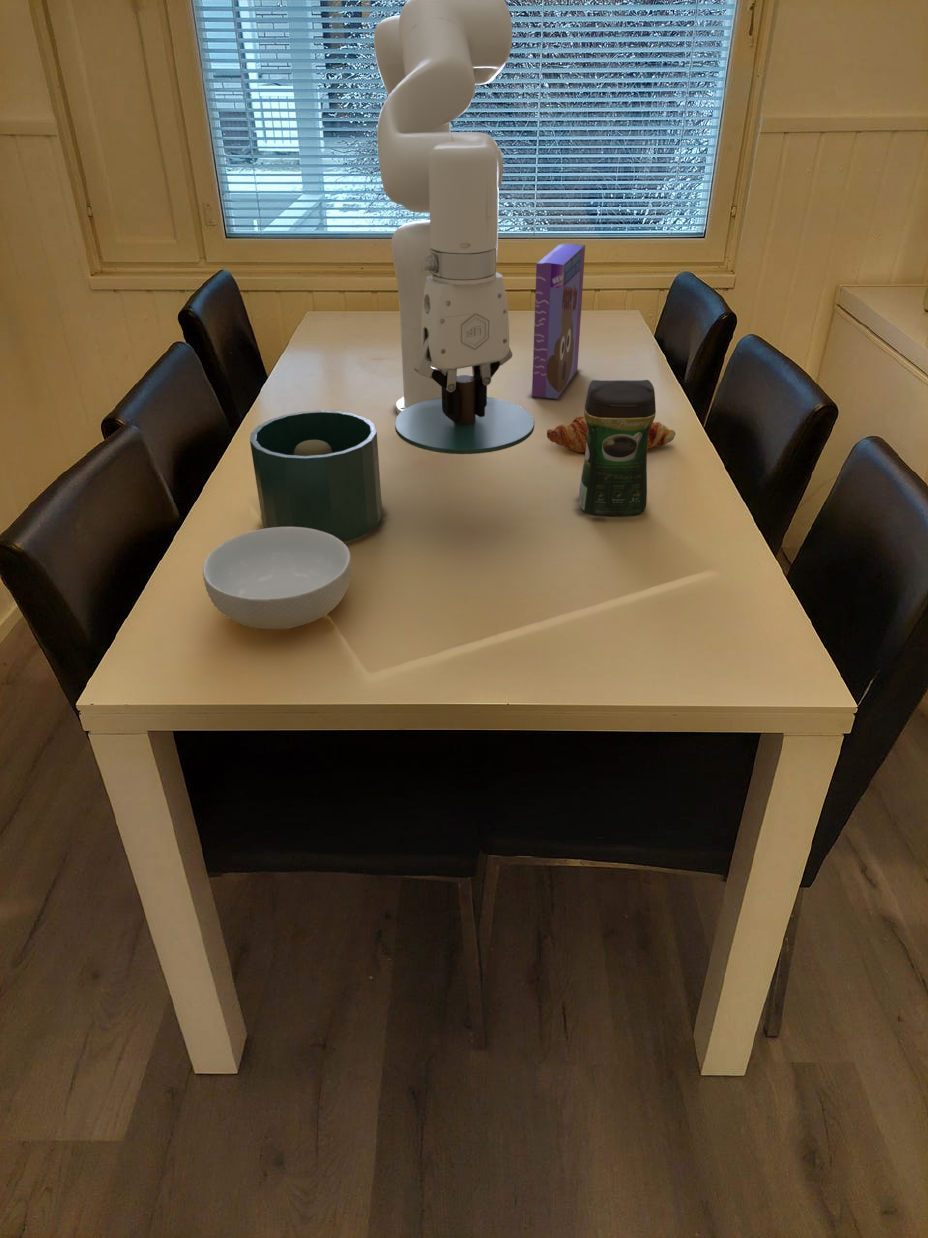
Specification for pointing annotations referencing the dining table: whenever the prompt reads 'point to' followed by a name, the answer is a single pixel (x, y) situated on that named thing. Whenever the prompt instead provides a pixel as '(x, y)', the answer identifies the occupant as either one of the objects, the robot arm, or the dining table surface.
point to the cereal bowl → (278, 576)
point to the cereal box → (557, 319)
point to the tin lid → (464, 424)
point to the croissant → (577, 435)
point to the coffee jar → (616, 447)
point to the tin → (318, 473)
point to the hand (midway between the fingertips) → (464, 414)
